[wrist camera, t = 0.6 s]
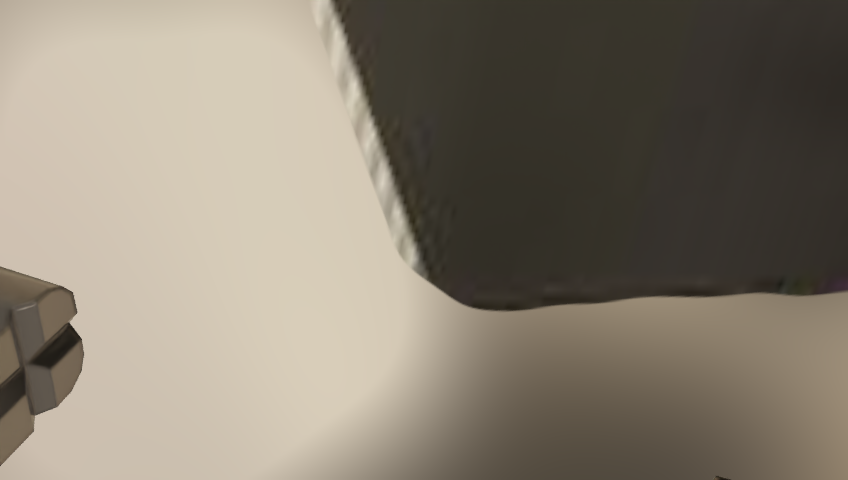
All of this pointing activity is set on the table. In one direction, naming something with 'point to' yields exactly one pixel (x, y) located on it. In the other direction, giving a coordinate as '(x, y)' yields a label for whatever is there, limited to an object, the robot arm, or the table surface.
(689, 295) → the table surface
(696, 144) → the table surface
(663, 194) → the table surface
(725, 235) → the table surface
